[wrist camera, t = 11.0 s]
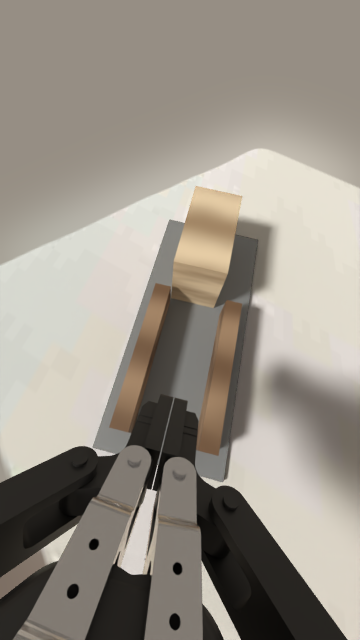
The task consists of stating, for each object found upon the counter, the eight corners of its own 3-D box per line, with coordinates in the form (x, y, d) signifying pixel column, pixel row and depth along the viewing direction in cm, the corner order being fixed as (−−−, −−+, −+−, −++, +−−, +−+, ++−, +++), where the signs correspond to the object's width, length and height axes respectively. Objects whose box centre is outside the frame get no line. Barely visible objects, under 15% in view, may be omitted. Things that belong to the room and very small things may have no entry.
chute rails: (156, 299, 30) (155, 282, 27) (233, 317, 29) (242, 303, 26) (115, 428, 24) (109, 427, 21) (210, 453, 24) (218, 455, 21)
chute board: (169, 222, 35) (169, 219, 35) (256, 242, 35) (258, 239, 34) (93, 447, 24) (92, 447, 23) (222, 481, 23) (223, 482, 23)
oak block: (189, 232, 34) (195, 185, 28) (226, 241, 34) (242, 196, 27) (171, 298, 30) (173, 261, 24) (213, 308, 30) (227, 273, 23)
